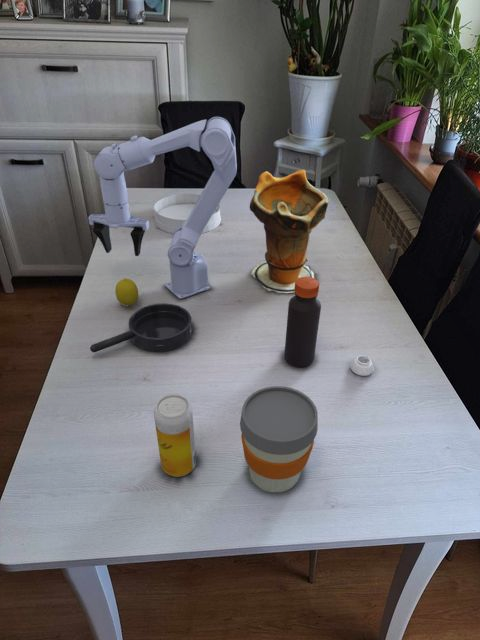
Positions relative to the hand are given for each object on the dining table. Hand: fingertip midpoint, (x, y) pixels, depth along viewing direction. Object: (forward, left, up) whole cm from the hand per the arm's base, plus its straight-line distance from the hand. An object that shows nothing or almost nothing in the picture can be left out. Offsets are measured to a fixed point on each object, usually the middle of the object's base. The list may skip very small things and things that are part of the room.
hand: (123, 252), depth 125 cm
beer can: (+19, +59, -11) cm, 63 cm away
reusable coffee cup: (+6, +70, -11) cm, 71 cm away
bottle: (-18, +49, -11) cm, 53 cm away
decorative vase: (-38, +20, -11) cm, 44 cm away
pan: (+3, +23, -10) cm, 26 cm away
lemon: (+4, +8, -11) cm, 14 cm away
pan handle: (+15, +23, -8) cm, 29 cm away
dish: (-35, -28, -11) cm, 46 cm away
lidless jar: (-27, +60, -11) cm, 67 cm away
